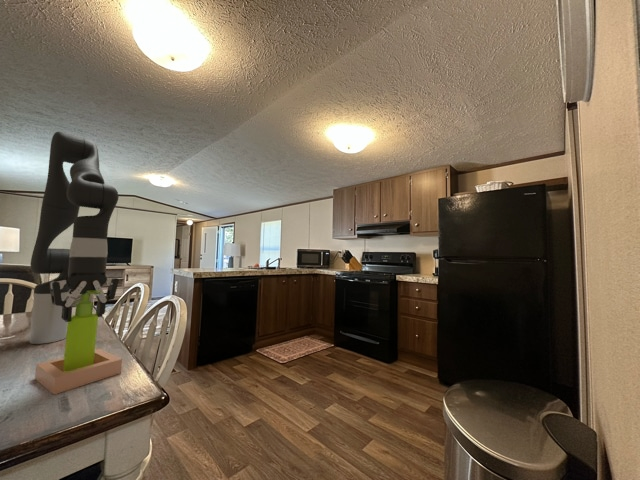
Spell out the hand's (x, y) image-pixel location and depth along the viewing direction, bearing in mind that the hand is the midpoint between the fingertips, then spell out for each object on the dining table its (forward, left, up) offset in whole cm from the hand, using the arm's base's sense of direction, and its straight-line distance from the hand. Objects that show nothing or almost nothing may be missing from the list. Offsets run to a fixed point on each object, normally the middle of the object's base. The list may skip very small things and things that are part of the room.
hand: (83, 318), depth 68 cm
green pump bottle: (0, 0, -13) cm, 13 cm away
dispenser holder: (0, 0, -15) cm, 15 cm away
